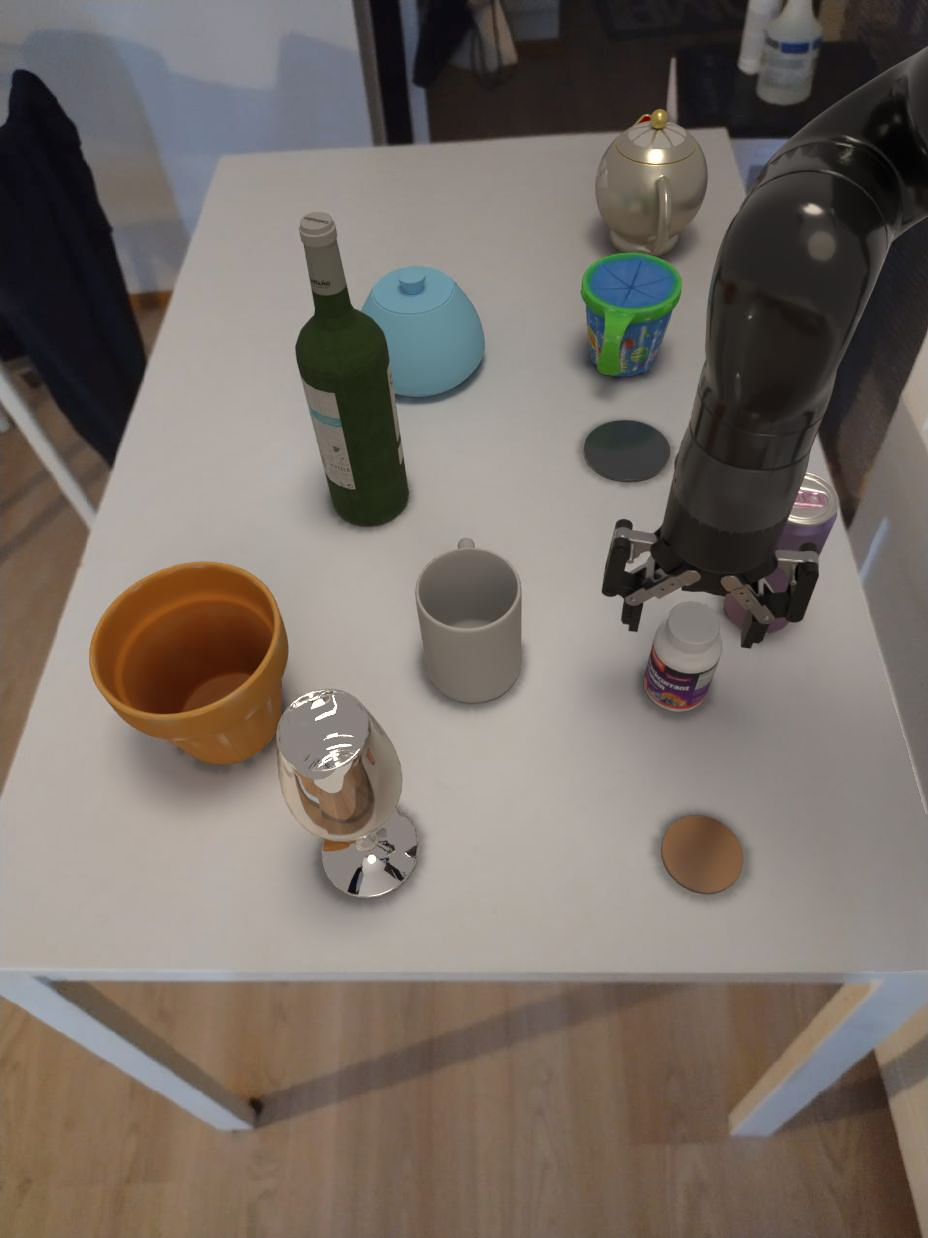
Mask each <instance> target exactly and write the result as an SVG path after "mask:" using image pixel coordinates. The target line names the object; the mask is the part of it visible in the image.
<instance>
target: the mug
mask: <svg viewBox="0 0 928 1238" xmlns="http://www.w3.org/2000/svg"><path fill="white" fill-rule="evenodd" d="M414 592H415V593H414V595H415V604H416V605H415V606H416V611H417V618H418V623H419V629H420V636H421V641H422V647H423V648H422V649H423V655H424V664H425V669H426V673H427V676H428V679H429V680H430V682H431V683H432V685H433V686H434V687H435V689H436V690H438V691H439V692H440V693H441V694H442V695H444V696H446V697H448V698H449V699H451V700H453V701H454V700H455V701H456V702H462V703H466V704H467V703H468V704H476V703H477V704H478V703H484V702H489V701H492V700H493V699H496V698H498V697H500V696H501V695H503V694H504V693H506V692H507V691H508V690H510V688H511V687H512V686H513V685H514V684H515V682H516V681H517V679H518V678H519V675H520V672H521V669H522V663H523V662H522V661H523V652H522V651H523V649H522V606H523V605H522V604H523V603H522V598H523V597H522V596H523V595H522V583H521V579H520V576H519V574H518V572H517V570H516V568H515V567H514V566H513V565H512V564H511V562H510V561H509V560H507V558H505V557H503V556H502V555H500V554H498V553H497V552H494V551H492V550H488V549H486V548H479V547H476V545H475V541H474V540H473V539H472V538H469V537H463V538H460V539H459V540H458V542H457V548H456V549H451V550H448V551H445V552H444V553H440V554H439V555H437V556H436V557H434V558H433V559H432V560H431V561H429V562H428V563H427V564H426V565H425V566H424V567H423V568H422V570H421V572H420V573H419V575H418V577H417V580H416V583H415V589H414Z"/></svg>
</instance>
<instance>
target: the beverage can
mask: <svg viewBox="0 0 928 1238" xmlns="http://www.w3.org/2000/svg"><path fill="white" fill-rule="evenodd" d="M839 498H840V497H839V495H838V493H837V491H836V489H835V488H834V486H833V485H832V484H831V483H830V482H829V481H827V480H826V479H825V478H823V477H821V476H819V475H817V474H815V473H812V472H809V471H806V474H805V477H804V480H803V483H802V485H801V488H800V490H799V493H798V496H797V498H796V501H795V503H794V505H793V508H792V511H791V513H790V516H789V518H788V521H787V523H786V526H785V528H784V531H783V533H782V536H781V538H780V541H779V543H778V546H777V548H778V549H780V550H791V551H798V550H799V547H800V546H801V545H802V544H804V543H814V544H816V545H817V546H818V559H819V558H820V556H821V553H822V551H823V549H824V547H825V545H826V543H827V540H828V538H829V536H830V535H831V531H832V529H833V527H834V524H835V522H836V521H837V518H838V510H839V505H840V499H839ZM765 579H766V580H767V582H768V583H769V584H770V586H771V587H772V588H773V590H774V591H775V593H777V592H785V589H786V586H787V583H788V579H786V578H785V577H784V572H783V571H782V570H781V569H778V568H776V570H775V571H774V572H773V573H772V574H770V575H768V576H766V577H765ZM723 605H724V609H725V612H726V614H727V615H728V617H729V618H730V620H731V621H732V622H733V623H734V624H735V625H736V626H737V627H739V628H740V629H741V628H742V623H743V621H744V618H745V616H746V613H747V611H748V610H747V611H745V610H744V609H743V607H742V606H741V605H740V604H739V602H738V601H737V600H736V599H735V597H734V596H733V595H732V594H726V597H725V596H724V604H723ZM789 623H790V622H788V621H787V620H786V619H785V618H776V619H775V621H774V622H772V623H770V625H769V627H768V630H767V632H766V634H765V635H767V634H772V633H776V632H779V631H780V630H782V629H783V628H785V627H786V626H787V625H788V624H789Z"/></svg>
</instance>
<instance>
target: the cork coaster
mask: <svg viewBox="0 0 928 1238" xmlns="http://www.w3.org/2000/svg"><path fill="white" fill-rule="evenodd" d="M661 857H662V861H663V864H664V866H665V869H666V870H667V872H668V873H669V875H670V876H671V877H672V878H673V880H674V881H675V882H676V883H678V884H679V885H680V886H682V887H683V888H684V889H685V888H686V889H687V890H689V891H692V892H694V893H698V894H716V893H720V892H722V891H724V890H727V889H728V888H729V887H731V886H732V885H733V884H734V883H735V882H736V881H737V879H738V878H739V876H740V874H741V871H742V869H743V865H744V864H743V863H744V862H743V861H744V855H743V849H742V847H741V844H740V842H739V840H738V838H737V836H736V835H735V833H734V832H733V831H732V830H731V829H730V828H729V827H728V826H727V825H725V824H724V823H723V822H721V821H719V820H717V819H715V818H712V817H709V816H706V815H688V816H685V817H682V818H680V819H678V820H676V821H675V822H674V823H672V824H671V825H670V826H669V827H668V829H667V830H666V831H665V833H664V836H663V839H662V842H661Z"/></svg>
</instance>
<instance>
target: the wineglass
mask: <svg viewBox="0 0 928 1238" xmlns="http://www.w3.org/2000/svg"><path fill="white" fill-rule="evenodd" d="M275 737H276V762H277V763H276V765H277V776H278V782H279V786H280V790H281V794H282V797H283V799H284V803H285V805H286V807H287V809H288V812H290V815H291V816H292V817H293V818H294V820H295V821H297V823H298V824H299V825H300V826H301V828H303V829H304V830H305V831H307V832H308V833H309V834H310V835H313V836H315V837H317V838H319V839H322V840H323V841H322V846H321V863H322V867H323V871H324V872H325V875H326V876H327V878H328V880H329V881H330V882H331V884H333V885H334V887H335V888H336V889H338V890H339V891H341V892H342V893H344V894H346V895H348V896H350V897H354V898H360V899H372V898H377V897H382V896H384V895H386V894H389V893H391V892H393V891H395V890H396V889H398V888H399V887H400V886H401V885H402V884H403V883H405V882H406V880H407V879H408V878H409V876H410V875H411V874H412V872H413V871H414V868H415V866H416V864H417V860H418V857H419V847H420V846H419V838H418V833H417V831H416V828H415V826H414V825H413V823H412V821H411V819H410V818H409V817H408V816H407V815H406V814H405V813H404V812H402V811H401V810H400V809H398V808H396V807H397V805H398V804H399V802H400V798H401V794H402V792H403V791H402V790H403V771H402V765H401V761H400V758H399V756H398V753H397V750H396V747H395V745H394V744H393V742H392V740H391V738H390V737H389V735H388V734H387V732H386V731H385V729H384V728H383V727H382V725H381V724H380V723H379V721H378V720H377V719H376V717H374V716H373V714H372V713H371V712H370V710H368V708H366V706H365V705H364V704H363V703H362V702H361V701H360V700H359V699H358V698H357V697H356V696H355V695H352V694H351V693H349V692H347V691H344V690H341V689H336V688H321V689H316V690H312V691H309V692H306V693H305V694H303V695H301V696H298V698H296V699H294V700H293V701H292V702H291V703H290V704H289V705H288V706H287V708H285V710H284V712H283V713H282V714H281V718H280V721H279V723H278V727H277V731H276V733H275Z"/></svg>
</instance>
